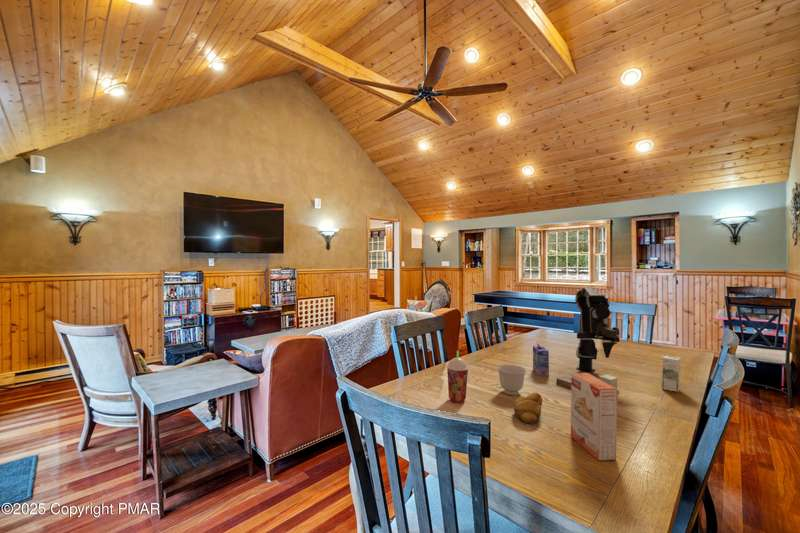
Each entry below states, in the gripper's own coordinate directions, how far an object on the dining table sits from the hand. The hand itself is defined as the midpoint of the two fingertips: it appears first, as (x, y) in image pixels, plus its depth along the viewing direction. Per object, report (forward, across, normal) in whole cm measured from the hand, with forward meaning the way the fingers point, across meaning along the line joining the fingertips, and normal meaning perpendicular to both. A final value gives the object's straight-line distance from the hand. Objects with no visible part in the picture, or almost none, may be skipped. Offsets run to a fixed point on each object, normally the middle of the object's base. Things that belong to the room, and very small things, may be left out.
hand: (599, 357), depth 158 cm
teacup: (+18, -38, +10) cm, 43 cm away
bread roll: (+25, -46, -12) cm, 54 cm away
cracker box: (+29, -40, -35) cm, 60 cm away
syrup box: (+11, +31, -8) cm, 34 cm away
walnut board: (+14, -6, +9) cm, 17 cm away
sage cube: (+13, +6, +1) cm, 14 cm away
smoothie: (+23, -64, +8) cm, 69 cm away
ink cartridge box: (+9, -10, +27) cm, 30 cm away
